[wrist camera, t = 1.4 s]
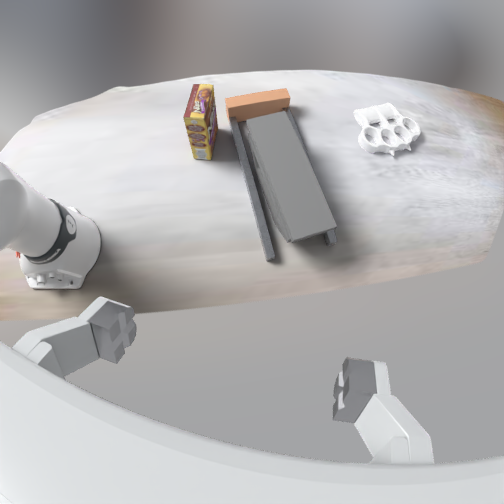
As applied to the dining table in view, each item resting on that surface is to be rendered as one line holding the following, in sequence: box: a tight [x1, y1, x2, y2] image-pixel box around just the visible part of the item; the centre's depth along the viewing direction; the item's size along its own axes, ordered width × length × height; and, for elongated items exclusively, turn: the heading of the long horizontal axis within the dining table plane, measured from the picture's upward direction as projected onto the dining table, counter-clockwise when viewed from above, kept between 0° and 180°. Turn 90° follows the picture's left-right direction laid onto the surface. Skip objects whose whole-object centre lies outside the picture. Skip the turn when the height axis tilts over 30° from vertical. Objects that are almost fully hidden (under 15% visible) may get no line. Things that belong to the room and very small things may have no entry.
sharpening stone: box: [246, 111, 337, 243], centre depth 59 cm, size 25×8×11 cm, turn 18°
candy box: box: [183, 84, 218, 160], centre depth 59 cm, size 9×4×15 cm, turn 173°
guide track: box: [229, 107, 337, 261], centre depth 64 cm, size 14×33×2 cm, turn 14°
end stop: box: [225, 88, 290, 122], centre depth 66 cm, size 14×3×6 cm, turn 104°
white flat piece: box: [354, 102, 420, 156], centre depth 67 cm, size 3×18×15 cm
